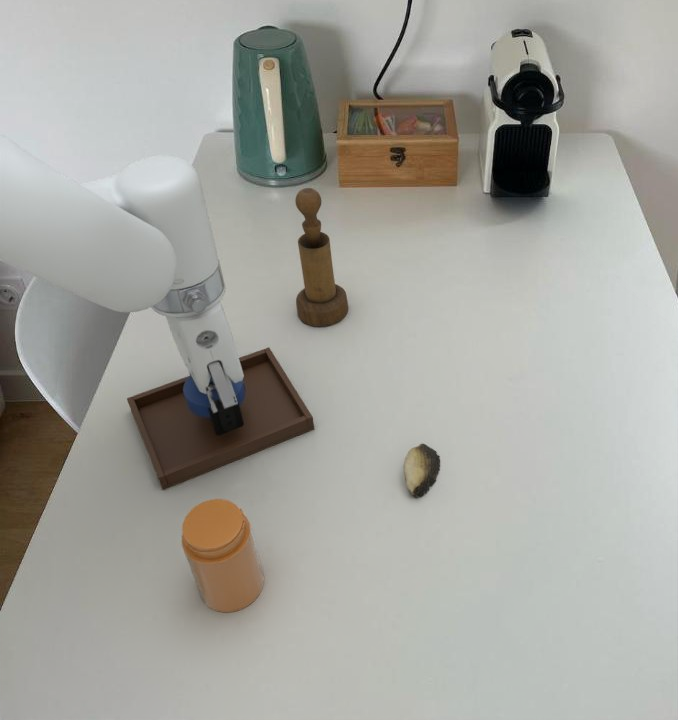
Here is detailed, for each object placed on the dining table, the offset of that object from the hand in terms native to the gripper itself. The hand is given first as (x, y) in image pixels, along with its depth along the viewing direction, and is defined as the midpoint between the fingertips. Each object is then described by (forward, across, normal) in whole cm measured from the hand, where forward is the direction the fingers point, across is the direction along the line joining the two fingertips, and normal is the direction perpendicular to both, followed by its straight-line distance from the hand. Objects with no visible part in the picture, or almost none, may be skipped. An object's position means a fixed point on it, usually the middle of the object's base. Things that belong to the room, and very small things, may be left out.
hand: (219, 407), depth 91 cm
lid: (-3, 0, 0) cm, 3 cm away
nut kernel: (+2, -18, -16) cm, 24 cm away
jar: (+2, -21, +6) cm, 22 cm away
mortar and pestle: (+2, +12, -18) cm, 22 cm away
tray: (+2, 0, 0) cm, 2 cm away
